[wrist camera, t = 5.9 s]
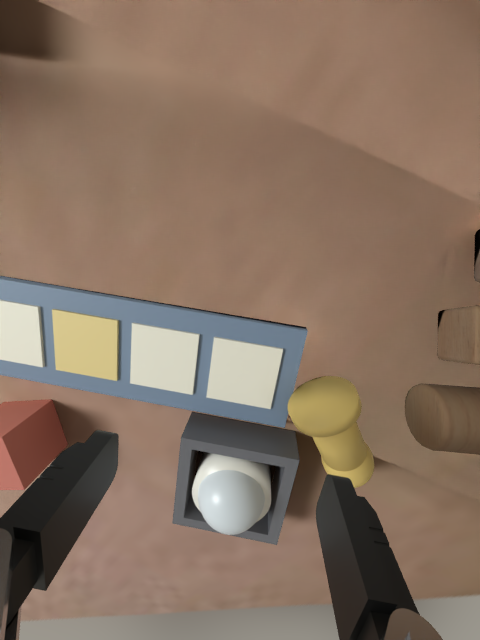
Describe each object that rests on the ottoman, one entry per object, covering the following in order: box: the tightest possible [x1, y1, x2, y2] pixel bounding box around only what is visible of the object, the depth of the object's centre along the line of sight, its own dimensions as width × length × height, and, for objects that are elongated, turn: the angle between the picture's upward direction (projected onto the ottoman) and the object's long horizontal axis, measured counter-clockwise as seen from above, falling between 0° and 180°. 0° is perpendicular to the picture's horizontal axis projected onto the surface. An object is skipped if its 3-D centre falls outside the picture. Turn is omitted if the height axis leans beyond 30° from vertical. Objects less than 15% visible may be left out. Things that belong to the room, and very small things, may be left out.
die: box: [0, 400, 68, 490], centre depth 20 cm, size 4×4×4 cm
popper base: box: [173, 412, 299, 545], centre depth 20 cm, size 8×8×3 cm
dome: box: [192, 452, 271, 535], centre depth 19 cm, size 6×6×5 cm
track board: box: [0, 276, 307, 428], centre depth 19 cm, size 24×8×1 cm, turn 82°
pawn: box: [288, 376, 374, 488], centre depth 18 cm, size 4×4×7 cm
